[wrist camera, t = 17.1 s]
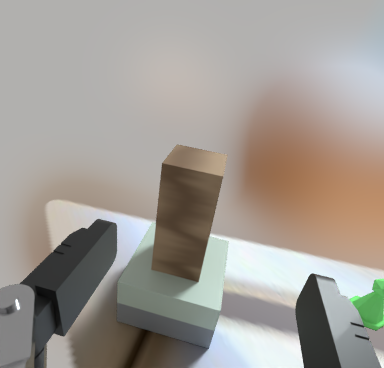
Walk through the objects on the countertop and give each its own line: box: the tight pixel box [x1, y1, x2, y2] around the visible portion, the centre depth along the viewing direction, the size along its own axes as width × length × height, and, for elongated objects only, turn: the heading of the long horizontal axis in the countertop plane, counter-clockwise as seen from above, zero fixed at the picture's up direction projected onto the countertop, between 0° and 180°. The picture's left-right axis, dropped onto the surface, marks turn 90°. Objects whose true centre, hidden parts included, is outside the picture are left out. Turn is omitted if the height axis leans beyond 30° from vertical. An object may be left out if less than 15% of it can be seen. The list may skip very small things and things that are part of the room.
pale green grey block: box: [117, 222, 229, 349], centre depth 29 cm, size 10×10×6 cm
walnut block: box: [151, 145, 227, 282], centre depth 25 cm, size 5×5×12 cm
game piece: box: [349, 279, 384, 331], centre depth 31 cm, size 4×4×6 cm
